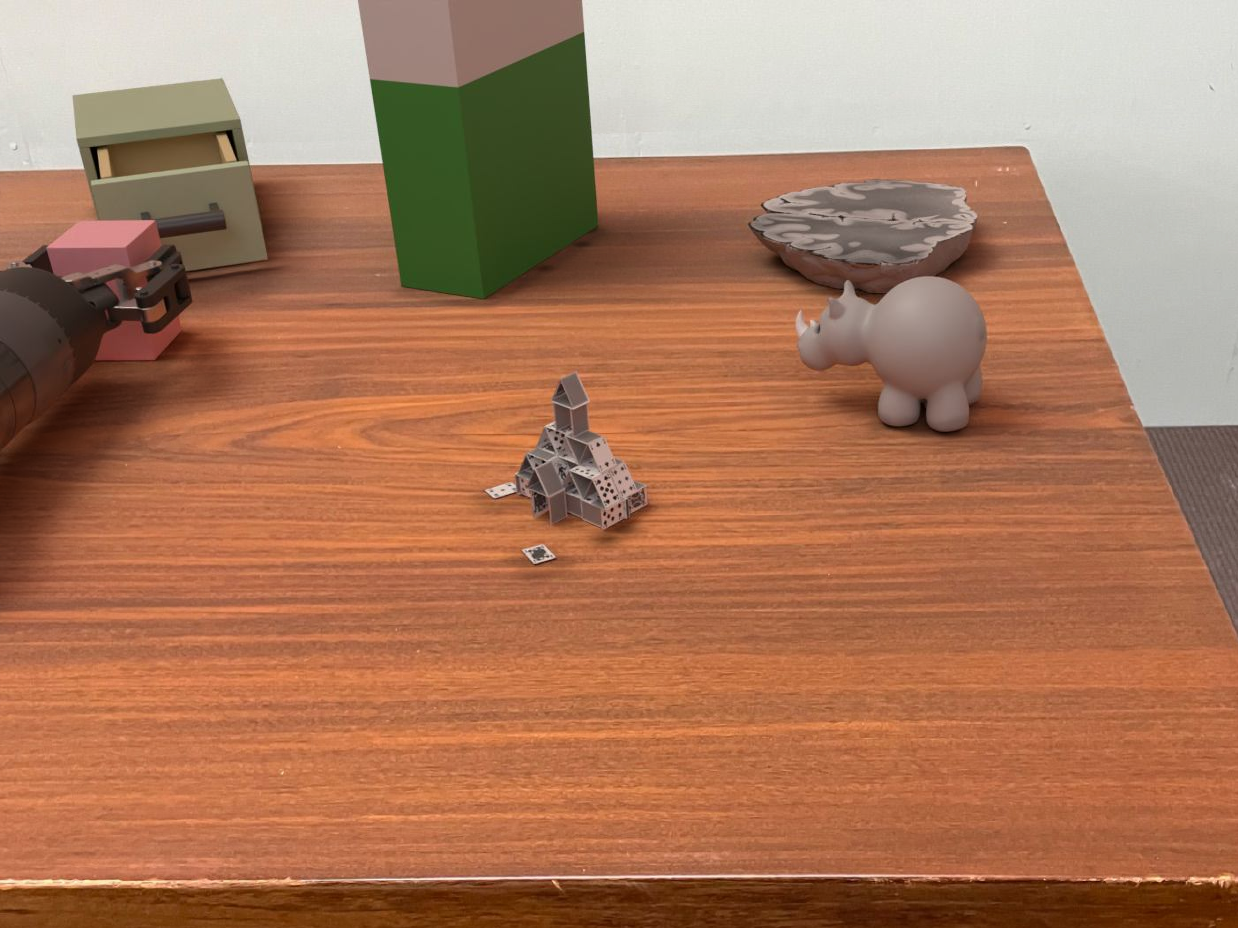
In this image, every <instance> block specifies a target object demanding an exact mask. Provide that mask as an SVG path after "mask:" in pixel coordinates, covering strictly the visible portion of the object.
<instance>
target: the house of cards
mask: <svg viewBox="0 0 1238 928" xmlns="http://www.w3.org/2000/svg"><path fill="white" fill-rule="evenodd" d="M550 402H551V403H552V409H553V410H552V411H553V419H554V421H552V422H550V423H548V424H546V425H544V426H543V429H542V431H541V434H540V436H539V439H538V441H537V443H536V445H535V448H533V449H531V450H528V451H527V452H525V453H524V454H525V455H524V457H523V459H522V462H521V465H520V467H519V470H518V471H517V472H515V473H514V482H515V483H513V482H512V481H509V482H505V483H503V484H500V485H497V486H494V487H490V488H487V489H484V491H485V492H486V493H487V494H488V495H489V496H490V497H492V498H493V499H497V498H501V497H505V496H507V495H510V494H514V493H516V496H519V495H522V496H525V497H528V498H530V503H531V504H530V505H531V510H532V511H531V512H532V518H533V519H534V518H536V517H538V516H540V515H542V514H543V513H546V512H549V519H550V520H549V522H550V526H552V525H554V524H556V523H558V522H560V521H562V520H563V519H565V518H568V513H569V514H571V515H573V516H576V517H578V518H581V520H582V521H585V522H587V523H589V524H592V525H593V526H596V527H598V528H600V529H601V531H604V530H606V529H608V528H609V527H612V526H613V525H616V524H618V522H620V521H622V520H628V518H631V514H633V513H634V512H636V511H639V510H640V509H642V508H644V507H646V506H647V505H648V504H649V503H648V484H647V483H646V484H644V483H642V482H640V481H637V480H635V479H633V476H632V474H631V472H630V470H629V467H628V466H627V463H626V460H623V459H619V458H618V457H614V454H613V453H612V449H611V448H610V445H609V443H608V441H607V439H606V437H605V435H602V434H599V433H596V432H593V431H592V430H590V421H589V420H590V419H589V409H588V408H589V407H588V403H590V402H591V400H590V398H589V395H588V394H587V391H586V389H585V386H584V385H583V382H582V380H581V378H580V376H579V374H578V370H576V371H574V372H571V373H569V374H567V375H565V376H562V377H560V378H559V380H558V383H557V385H556V387H555V390H554V393H553V395H552V397H551V400H550ZM521 551H522V552H523V554H525V556H526V557H527V558H528V559H529V560H530V561H531V563H533V565H535V564H536V565H537V564H539V563H542V562H546V561H550V560H553V559H556V558H557V556H555V554H554V553H553V552H552V551H550V550H549V548H548V547H547V546H546V545H545V544H544V543H541V544H538V545H534V546H530V547H527V548H523V549H521Z"/></svg>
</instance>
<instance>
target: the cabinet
mask: <svg viewBox="0 0 1238 928" xmlns="http://www.w3.org/2000/svg"><path fill="white" fill-rule="evenodd" d="M72 105H73V114H74V115H73V117H74V118H73V119H74V126H75V127H74V129H75V139H76V143H77V146H78V150H79V154H80V158H81V162H82V166H83V169H84V173H85V177H86V181H87V185H88V189H89V192H90V195H91V196H90V197H91V199H92V204H93V207H94V211H95V215H96V218H97V221H101V220H100V216H99V213H98V209H97V205H96V201H95V198H94V194H93V190H92V186H91V181H92V180H99V179H101V175H100V168H99V160H98V152H97V146H103V145H111V144H119V143H127V142H135V141H143V140H152V139H160V138H168V137H176V136H184V135H192V134H201V133H209V132H217V131H225V132H226V134H227V137H228V140H229V142H230V145H231V147H232V150H233V152H234V155H235V157H236V160H237V162H240V161H247V162H248V164H249V168H250V173H251V178H252V182H253V187H254V192H255V197H256V202H257V207H258V212H259V217H260V222H261V227H262V231H263V229H264V228H263V224H262V218H261V214H260V209H259V204H258V199H257V194H256V189H255V185H254V180H253V176H252V170H251V165H250V159H249V155H248V151H247V146H246V140H245V135H244V131H243V126H242V119H241V118H240V115H239V113H238V110H237V108H236V106H235V103H234V101H233V99H232V96H231V95H230V93H229V90H228V87H227V84H226V83H225V80H224V79H223V77H220V78H211V79H203V80H195V81H186V82H185V81H184V82H177V83H176V82H175V83H169V84H158V85H150V86H149V85H148V86H141V87H133V88H125V89H124V88H123V89H116V90H107V91H98V92H88V93H80V94H73V95H72Z"/></svg>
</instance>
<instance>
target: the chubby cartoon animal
mask: <svg viewBox="0 0 1238 928" xmlns="http://www.w3.org/2000/svg"><path fill="white" fill-rule="evenodd" d="M827 302H828V305H826V307H825V308H824V310H823V311H822V312H821V314H820V317H819V320H818V321H817V322H816V321H815V320H814V319H810V320H809V325H808V324H807V322H806V321H805V319H804V316H803V310H802V309H800V310H799V311H798V314H797V316H796V318H795V322H794V324H795V325H794V327H795V333H796V336H797V337H798V339H797V341H798V342H797V345H796V348H797V350H798V353H799V354H798V355H799V358H800V360H801V362H802V363H803V365H804V366H806V367H807V368H809V369H811V370H812V371H817V372H823V371H827V370H829V369H832V368H833V367H834V366H836V365H841V366H846V367H847V366H848V367H856V366H860V365H862V364H864V363H868V364H870V365H871V366H872V368H873V370H874V372H875V373H876V375H877V376H878V377H879V379H880V380H881V382H882V389H881V392H880V395H879V400H878V403H877V416H878V418H879V420H880V421H881V422H882V423H883V424H885V425H888V426H890V427H891V426H892V427H906V426H910V425H914V424H915V423H917V422H918V421H919V418H920V415H921V404H923V406H924V408H925V409H926V410H925V418H926V423H927V425H928V426H929V428H931V429H932V430H934V431H937V432H942V433H943V432H947V433H948V432H954V431H958V430H961V429H963V428H965V427H966V426H968V423H969V421H970V405H972V404H974V403H976V402H978V400H979V399H980V398H981V396H982V392H983V374H982V370H981V366H980V365H981V362H982V361H983V358H984V355H985V353H986V349H987V342H988V329H987V324H986V323H987V322H986V318H985V316H984V313H983V310H982V309H981V307H980V305H979V303H978V302H977V300H976V299H975V297H974V296H973V295H972V294H971V293H970V292H969V291H968V290H966V289H965V287H963V286H962V285H960V284H958V283H957V282H955V281H953V280H949V279H947V278H945V277H941V276H940V277H939V276H935V277H933V276H924V277H917V278H913V279H910V280H907V281H904V282H902V283H900V284H898V285H897V286H895V287H894V288H893V289H891V290H890V291H889V292H888V293H885V294H884V295H883V297H882V298H881V299H880V301H878V302H877V303H876V304H874V303H871V302H869V301H868V300H866V299H865V298H862V297H860V296H857V294H856V289H854V287H853V285H852V283H851V282H850V281H849V280H846V282H845V283H844V289H843V293H842V294H841V295H840V296H839V297H837V298H835V297H832V296H830V297H829V298H828V299H827Z"/></svg>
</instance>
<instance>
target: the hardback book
mask: <svg viewBox="0 0 1238 928" xmlns="http://www.w3.org/2000/svg"><path fill="white" fill-rule="evenodd" d="M357 4H358V11H359V17H360V18H359V19H360V22H361V23H360V24H361V30H362V36H363V38H362V39H363V44H364V50H365V56H366V63H367V69H368V75H369V77H368V78H369V82H370V89H371V90H370V91H371V95H372V104H373V109H374V117H375V123H376V129H377V135H378V141H379V148H380V155H381V160H382V167H383V175H384V181H385V182H384V183H385V187H386V194H387V200H388V208H389V215H390V220H391V228H392V234H393V241H394V247H395V253H396V260H397V267H398V272H399V280H400V286H401V287H404V288H411V289H418V290H423V291H430V292H437V293H443V294H450V295H455V296H463V297H469V298H476V299H481V300H484V299H486V298H487V297H489V296H490V295H493V294H494V293H495V292H497V291H498V290H500V289H501V288H503V287H504V286H506V285H508V284H509V283H511V282H513V281H514V280H516V279H517V278H519V277H520V276H522V275H523V274H525V273H527V272H528V271H531V269H533V268H534V267H537V266H538V265H539V264H541V263H543V262H544V261H545V260H547V259H548V258H550V257H551V256H553V255H555V254H556V253H557V252H559V251H561V250H562V249H564V248H567V247H568V246H569V245H570V244H572V243H574V242H576V240H578V239H580V238H582V237H583V236H585V235H586V234H587V233H589V232H591V231H592V230H594V229H595V228H597V227H598V226H599V215H598V199H597V186H596V173H595V158H594V147H593V146H594V145H593V131H592V117H591V105H590V90H589V76H588V75H589V74H588V61H587V49H586V35H585V34H586V33H585V20H584V10H583V9H584V7H583V0H357Z"/></svg>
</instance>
